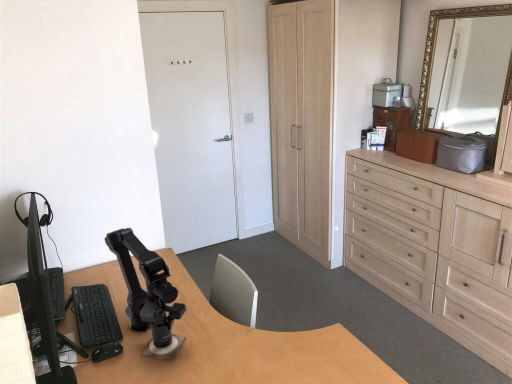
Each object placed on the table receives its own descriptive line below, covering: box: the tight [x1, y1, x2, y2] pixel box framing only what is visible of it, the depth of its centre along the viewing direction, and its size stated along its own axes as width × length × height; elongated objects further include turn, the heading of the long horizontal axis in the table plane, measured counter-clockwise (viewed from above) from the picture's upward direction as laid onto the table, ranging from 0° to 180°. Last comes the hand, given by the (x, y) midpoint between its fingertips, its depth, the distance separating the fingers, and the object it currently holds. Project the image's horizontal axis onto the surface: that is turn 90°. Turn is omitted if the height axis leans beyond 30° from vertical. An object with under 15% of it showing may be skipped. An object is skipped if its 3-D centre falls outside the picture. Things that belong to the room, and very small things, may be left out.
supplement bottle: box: [150, 311, 173, 348], centre depth 157 cm, size 7×7×12 cm
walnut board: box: [140, 333, 187, 362], centre depth 159 cm, size 12×12×1 cm
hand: (161, 328), depth 157 cm, fingers closed on supplement bottle, 7 cm apart
